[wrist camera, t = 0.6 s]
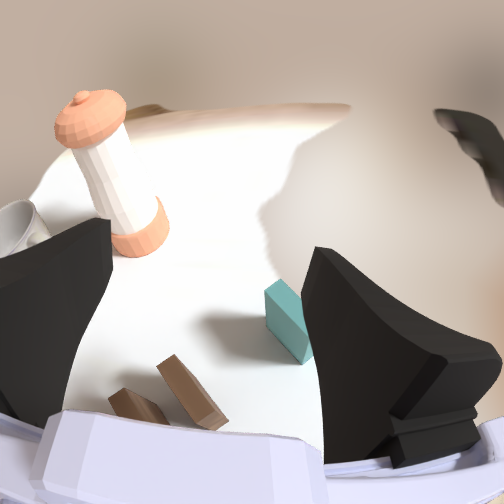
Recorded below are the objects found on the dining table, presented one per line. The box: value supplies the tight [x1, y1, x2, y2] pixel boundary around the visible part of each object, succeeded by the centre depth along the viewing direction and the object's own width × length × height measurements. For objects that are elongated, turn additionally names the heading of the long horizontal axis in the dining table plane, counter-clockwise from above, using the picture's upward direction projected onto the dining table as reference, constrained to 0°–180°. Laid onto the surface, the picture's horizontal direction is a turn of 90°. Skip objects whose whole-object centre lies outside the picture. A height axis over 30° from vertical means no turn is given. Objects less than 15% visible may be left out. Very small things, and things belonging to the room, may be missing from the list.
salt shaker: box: [54, 90, 169, 257], centre depth 30 cm, size 7×7×19 cm
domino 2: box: [156, 354, 229, 431], centre depth 23 cm, size 2×5×7 cm, turn 38°
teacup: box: [0, 199, 51, 258], centre depth 32 cm, size 14×11×8 cm
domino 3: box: [264, 279, 313, 365], centre depth 26 cm, size 2×5×7 cm, turn 38°
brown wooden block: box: [108, 388, 171, 426], centre depth 22 cm, size 2×5×7 cm, turn 38°
